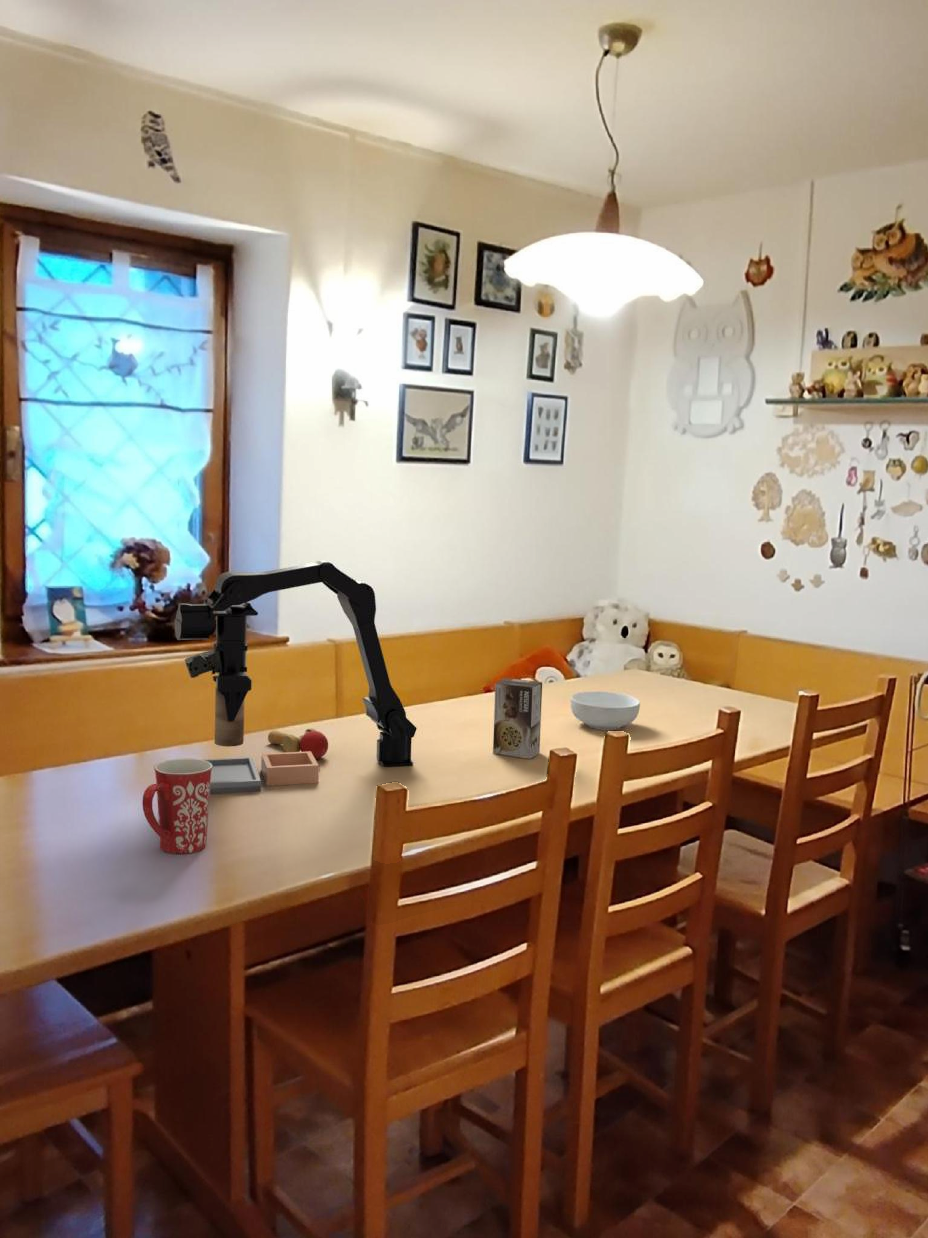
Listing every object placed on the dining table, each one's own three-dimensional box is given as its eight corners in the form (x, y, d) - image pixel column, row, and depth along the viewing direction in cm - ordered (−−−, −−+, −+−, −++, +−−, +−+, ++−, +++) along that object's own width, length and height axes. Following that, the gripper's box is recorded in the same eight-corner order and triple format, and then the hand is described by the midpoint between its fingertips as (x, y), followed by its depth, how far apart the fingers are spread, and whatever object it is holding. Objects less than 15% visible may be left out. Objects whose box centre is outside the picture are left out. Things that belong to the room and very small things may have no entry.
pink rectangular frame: (310, 767, 212) (310, 751, 212) (318, 782, 203) (318, 765, 202) (261, 770, 209) (261, 753, 209) (266, 785, 200) (267, 768, 199)
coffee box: (540, 752, 230) (544, 681, 227) (529, 759, 224) (533, 687, 221) (502, 746, 233) (505, 676, 231) (491, 753, 228) (494, 681, 225)
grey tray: (252, 766, 211) (252, 757, 211) (260, 790, 196) (260, 780, 196) (196, 769, 208) (196, 759, 208) (201, 794, 193) (201, 784, 193)
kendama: (256, 753, 226) (305, 760, 213) (258, 724, 227) (308, 729, 214) (285, 753, 232) (335, 760, 219) (287, 725, 232) (337, 730, 219)
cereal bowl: (560, 729, 251) (562, 701, 250) (579, 715, 266) (581, 688, 265) (629, 738, 245) (631, 709, 244) (644, 723, 260) (646, 696, 259)
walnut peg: (242, 738, 205) (243, 684, 203) (244, 746, 199) (246, 690, 198) (213, 739, 203) (214, 684, 201) (215, 747, 198) (216, 690, 196)
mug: (184, 832, 174) (184, 754, 172) (224, 844, 169) (224, 764, 167) (124, 854, 163) (123, 772, 161) (164, 868, 158) (164, 783, 156)
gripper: (185, 630, 205) (184, 707, 207) (190, 647, 187) (188, 731, 189) (243, 630, 208) (241, 706, 210) (252, 647, 190) (250, 729, 193)
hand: (229, 717), depth 200 cm, fingers closed on walnut peg, 5 cm apart
